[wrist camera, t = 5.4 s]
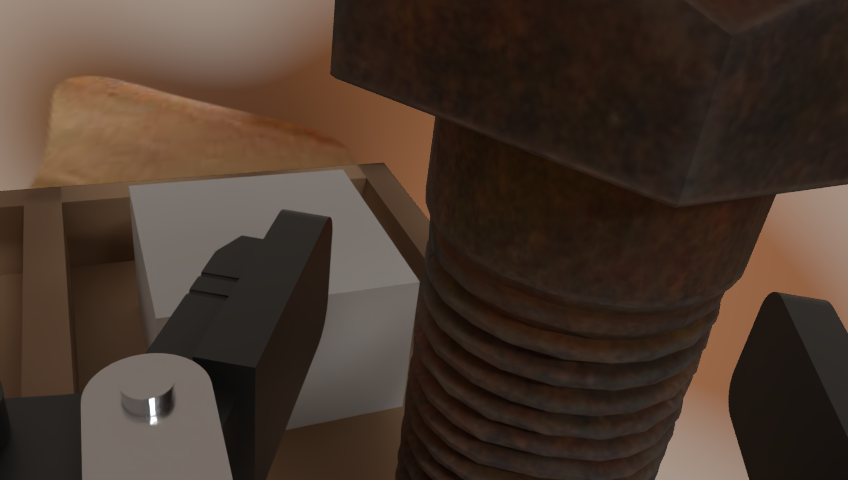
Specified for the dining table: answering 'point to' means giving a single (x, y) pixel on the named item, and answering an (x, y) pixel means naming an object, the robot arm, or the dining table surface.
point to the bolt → (589, 207)
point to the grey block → (348, 283)
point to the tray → (120, 316)
